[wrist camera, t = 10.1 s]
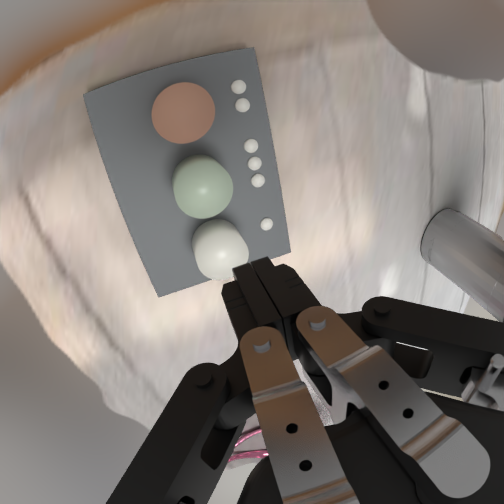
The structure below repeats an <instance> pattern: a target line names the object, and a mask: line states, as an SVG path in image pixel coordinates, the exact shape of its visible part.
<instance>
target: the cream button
mask: <svg viewBox="0 0 504 504" xmlns="http://www.w3.org/2000/svg"><path fill="white" fill-rule="evenodd" d="M192 248H193V252H194V255H195V259H196V262H197V265H198V268H199V270H200V271H201V273H202V274H203V275H205V276H206V277H208V278H210V279H213V280H226V279H230V278H232V277H234V275H233V272H232V268H234V267H237V266H240V265H243V264H246V263H247V261H248V257H249V251H248V247H247V245H246V243H245V241H244V240H243V238H242V237H241V235H240V234H239V232H238V230H237V229H236V227H235V226H234V225H233V224H232V223H230V222H228V221H226V220H222V219H214V220H210V221H207V222H205V223H203V224H202V225H201V226H199V227H198V229H197V230H196V231H195V233H194V235H193V238H192Z"/></svg>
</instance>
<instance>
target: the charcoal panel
mask: <svg viewBox="0 0 504 504" xmlns="http://www.w3.org/2000/svg"><path fill="white" fill-rule="evenodd" d="M182 82H189V83H194V84H197V85H199V86H201V87H202V88H204V89H205V90H206V91H207V92H208V93H209V94H210V96H211V97H212V99H213V102H214V105H215V117H214V121H213V124H212V126H211V127H210V129H209V130H208V132H207V133H206V134H205V135H204V136H202V137H201V138H199V139H198V140H196V141H193V142H190V143H185V144H178V143H173V142H170V141H168V140H166V139H164V138H163V137H162V136H160V135H159V133H158V132H157V131H156V129H155V127H154V125H153V122H152V115H151V114H152V107H153V104H154V101H155V99H156V98H157V96H158V95H159V94H160V93H161V92H162V91H163V90H164V89H166V88H167V87H169V86H171V85H173V84H176V83H182ZM83 97H84V100H85V104H86V108H87V111H88V115H89V118H90V122H91V125H92V128H93V132H94V135H95V138H96V141H97V144H98V147H99V150H100V154H101V157H102V160H103V162H104V165H105V168H106V171H107V174H108V177H109V180H110V182H111V185H112V188H113V191H114V193H115V196H116V199H117V201H118V204H119V207H120V209H121V212H122V214H123V217H124V219H125V222H126V224H127V227H128V229H129V232H130V234H131V237H132V239H133V241H134V244H135V246H136V248H137V251H138V253H139V255H140V258H141V260H142V262H143V264H144V267H145V269H146V271H147V273H148V276H149V278H150V280H151V282H152V284H153V286H154V289H155V291H156V293H157V295H158V297H162V296H165V295H168V294H171V293H174V292H177V291H180V290H183V289H186V288H188V287H191V286H194V285H197V284H200V283H203V282H206V281H209V280H212V279H210V278H208V277H206V276H205V275H203V274H202V273H201V271H200V270H199V268H198V265H197V262H196V259H195V255H194V252H193V248H192V238H193V235H194V233H195V231H196V230H197V229H198V227H199V226H201V225H202V224H203V223H205V222H207V221H210V220H214V219H222V220H226V221H228V222H230V223H232V224H233V225H234V226H235V227H236V229H237V230H238V232H239V234H240V235H241V237H242V238H243V240H244V241H245V243H246V245H247V247H248V251H249V257H248V261H247V263H250V262H251V261H254V260H257V259H260V258H263V257H266V256H268V257H269V259H273V258H276V257H279V256H282V255H284V254H287V253H290V252H291V249H290V243H289V236H288V229H287V223H286V217H285V210H284V204H283V198H282V192H281V186H280V180H279V174H278V168H277V162H276V157H275V151H274V145H273V140H272V135H271V129H270V124H269V118H268V113H267V108H266V103H265V98H264V93H263V88H262V83H261V78H260V73H259V68H258V63H257V59H256V54H255V49H254V47H252V48H245V49H239V50H233V51H227V52H222V53H217V54H212V55H207V56H202V57H198V58H194V59H189V60H185V61H181V62H177V63H173V64H170V65H166V66H163V67H159V68H156V69H152V70H149V71H146V72H142V73H139V74H136V75H133V76H130V77H127V78H124V79H122V80H119V81H116V82H113V83H111V84H108V85H105V86H103V87H100V88H98V89H95V90H93V91H90V92H88V93H85V94H83ZM198 154H199V155H207V156H210V157H212V158H213V159H215V160H216V161H217V162H218V163H219V164H220V165H221V166H222V167H223V168H224V169H225V170H226V171H227V172H228V173H229V175H230V177H231V179H232V182H233V194H232V198H231V200H230V202H229V204H228V205H227V207H226V208H225V209H224V210H223V211H222V212H220V213H219V214H217V215H215V216H213V217H210V218H204V219H200V218H194V217H191V216H189V215H187V214H186V213H184V212H183V211H182V210H181V209H180V208H179V206H178V204H177V202H176V200H175V195H174V191H173V187H172V176H173V173H174V170H175V168H176V167H177V165H178V164H179V163H180V162H181V161H182V160H184V159H185V158H187V157H189V156H192V155H198Z"/></svg>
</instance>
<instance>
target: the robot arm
mask: <svg viewBox="0 0 504 504" xmlns="http://www.w3.org/2000/svg"><path fill="white" fill-rule="evenodd" d="M421 253H422V256H423V258H424V260H425V261H427V262H428V263H429V264H431V265H432V266H433V267H434V268H436V269H437V270H438V271H440V272H441V273H442V274H443V275H445V276H446V277H447V278H448V279H450V280H451V281H452V282H453V283H455V284H456V285H457V286H458V287H460V288H461V289H462V290H463V291H464V292H466V293H467V294H468V295H469V296H470V297H472V298H473V299H474V300H475V301H477V302H478V303H479V304H480V305H481V306H482V307H483V308H485V309H486V310H487V311H488V312H489V313H490V314H492V315H493V316H494V317H495V318H496V319H497V320H498V321H499V322H498V321H493V320H489V319H484V318H479V317H475V316H470V315H466V314H461V313H457V312H452V311H447V310H443V309H438V308H434V307H429V306H425V305H420V304H416V303H412V302H407V301H403V300H398V299H394V298H390V297H384V296H380V297H374V298H371V299H369V300H368V301H366V302H365V303H364V305H363V307H362V311H359V312H353V313H346V314H338V313H336V312H335V311H334V310H332V309H331V308H328V307H325V306H322V305H321V304H320V303H319V301H318V300H317V299H316V297H315V296H314V295H313V293H312V292H311V291H310V289H309V288H308V287H307V286H306V284H304V282H303V280H302V279H301V278H300V277H299V275H298V274H297V273H296V271H295V270H294V269H293V268H291V267H289V266H287V265H285V264H281V265H278V266H274V265H273V263H272V262H271V260H270V259H269V257H268V256H266V257H263V258H260V259H257V260H254V261H251V262H250V263H246V264H243V265H240V266H237V267H234V268H232V272H233V275H234V279H235V281H232V282H229V283H226V284H224V285H223V289H222V293H221V294H222V297H223V300H224V303H225V306H226V309H227V312H228V315H229V318H230V321H231V323H232V326H233V329H234V331H235V334H236V337H237V339H238V347H237V349H236V351H235V353H234V354H233V355H232V356H231V357H230V358H229V359H228V360H227V361H225V362H224V363H222V364H221V365H217V364H214V363H202V364H198V365H196V366H194V367H192V368H191V369H190V370H189V371H188V372H187V373H186V374H185V376H184V377H183V379H182V381H181V382H180V384H179V386H178V387H177V389H176V390H175V392H174V394H173V395H172V397H171V399H170V400H169V402H168V404H167V405H166V407H165V408H164V410H163V412H162V413H161V415H160V417H159V418H158V420H157V422H156V423H155V425H154V426H153V428H152V430H151V431H150V433H149V435H148V436H147V438H146V440H145V441H144V443H143V444H142V446H141V448H140V449H139V451H138V452H137V454H136V456H135V458H134V459H133V461H132V462H131V464H130V466H129V467H128V469H127V471H126V472H125V474H124V475H123V477H122V478H121V480H120V482H119V483H118V485H117V486H116V488H115V490H114V491H113V493H112V494H111V496H110V498H109V499H108V501H107V502H106V504H207V503H208V501H209V499H210V497H211V495H212V493H213V491H214V489H215V487H216V485H217V483H218V481H219V479H220V477H221V475H222V473H223V471H224V469H225V467H226V465H227V463H228V460H229V458H230V456H231V454H232V452H233V450H234V448H235V446H236V443H237V441H238V439H239V437H240V435H241V433H242V430H243V428H244V426H245V423H246V419H248V418H249V417H251V416H252V415H253V414H255V413H256V414H257V418H258V421H259V425H260V428H261V431H262V435H263V438H264V442H265V445H266V448H267V452H268V455H267V456H266V457H264V458H263V459H262V460H261V461H260V462H259V463H258V464H257V465H256V466H255V468H254V469H253V470H252V472H251V473H250V475H249V477H248V478H247V481H246V483H245V485H244V488H243V490H242V493H241V495H240V498H239V500H238V502H237V504H504V241H503V239H502V237H501V236H499V235H498V234H496V233H494V232H493V231H491V230H490V229H488V228H486V227H485V226H483V225H481V224H480V223H478V222H476V221H475V220H473V219H471V218H469V217H468V216H466V215H464V214H462V213H461V212H455V211H454V210H452V209H445V210H442V211H441V212H439V213H438V214H437V215H436V216H435V217H434V218H433V219H432V221H431V222H430V224H429V225H428V227H427V229H426V231H425V233H424V236H423V239H422V245H421ZM396 341H397V342H400V343H404V344H408V345H412V346H416V347H420V348H424V349H428V350H423V349H419V348H415V347H411V346H407V345H403V344H399V343H396ZM296 359H299V361H300V363H301V364H302V368H303V374H304V376H305V378H306V379H307V381H308V382H309V383H310V385H311V386H312V388H313V389H314V391H315V392H316V394H317V395H318V397H319V398H320V400H321V401H322V403H323V404H324V406H325V407H326V408H327V410H328V412H329V414H330V416H331V419H332V421H333V424H334V425H329V426H324V425H323V423H322V421H321V418H320V416H319V414H318V411H317V409H316V407H315V405H314V402H313V400H312V398H311V395H310V393H309V391H308V388H307V386H306V384H305V383H304V382H302V381H301V379H300V377H299V375H298V372H297V370H296V368H295V365H294V363H293V361H294V360H296ZM421 388H424V389H427V390H431V391H435V392H439V393H443V394H448V395H452V396H457V397H461V398H462V399H463V401H464V402H463V401H459V400H455V399H451V398H448V397H444V396H441V395H437V394H434V393H429V392H424V391H423V390H422V389H421Z"/></svg>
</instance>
